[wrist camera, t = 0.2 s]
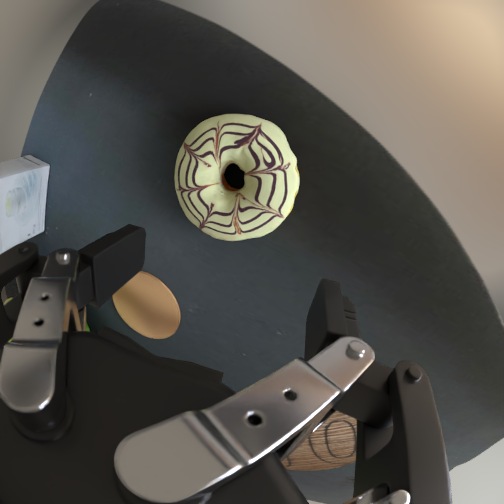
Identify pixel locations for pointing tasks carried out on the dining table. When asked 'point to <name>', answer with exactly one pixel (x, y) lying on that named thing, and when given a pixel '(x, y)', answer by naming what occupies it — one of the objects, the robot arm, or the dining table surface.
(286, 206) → the decorated donut
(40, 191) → the cosmetics box
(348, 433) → the trivet
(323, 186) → the dining table surface
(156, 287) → the cork coaster
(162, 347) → the dining table surface
